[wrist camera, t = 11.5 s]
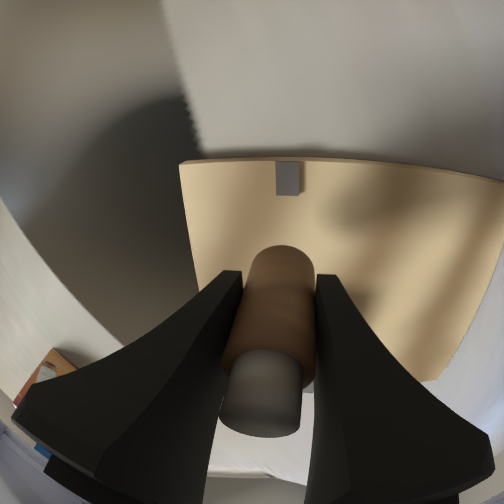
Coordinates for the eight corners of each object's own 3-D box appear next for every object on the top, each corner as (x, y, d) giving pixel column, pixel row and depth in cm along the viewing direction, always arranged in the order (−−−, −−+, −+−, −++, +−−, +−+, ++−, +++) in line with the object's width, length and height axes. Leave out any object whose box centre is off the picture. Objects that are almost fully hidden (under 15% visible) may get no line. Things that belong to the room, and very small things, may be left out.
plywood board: (506, 182, 10) (519, 190, 9) (434, 370, 18) (438, 382, 17) (186, 160, 13) (176, 166, 12) (222, 368, 21) (218, 381, 20)
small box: (99, 383, 29) (64, 445, 20) (93, 393, 31) (63, 447, 22) (51, 346, 27) (11, 403, 18) (51, 360, 30) (17, 411, 21)
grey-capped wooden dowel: (316, 245, 10) (321, 401, 4) (312, 299, 11) (307, 444, 6) (248, 243, 10) (195, 388, 5) (252, 297, 11) (215, 434, 6)
